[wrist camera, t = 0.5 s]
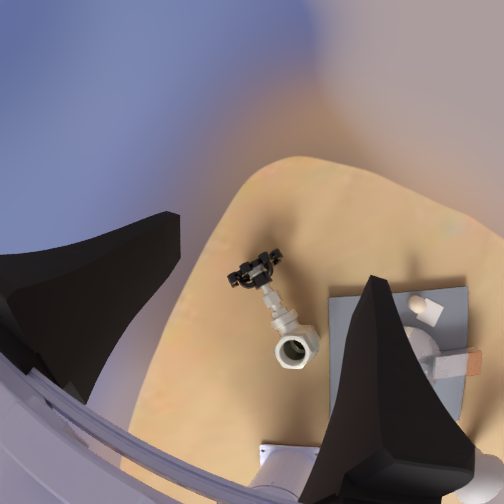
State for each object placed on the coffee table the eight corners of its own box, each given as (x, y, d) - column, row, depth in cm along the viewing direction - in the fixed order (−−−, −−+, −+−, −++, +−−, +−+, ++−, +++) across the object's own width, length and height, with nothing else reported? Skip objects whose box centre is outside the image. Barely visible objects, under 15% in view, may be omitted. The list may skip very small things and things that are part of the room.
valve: (338, 340, 34) (285, 250, 37) (333, 355, 28) (269, 245, 31) (289, 366, 36) (239, 279, 39) (274, 384, 30) (215, 281, 33)
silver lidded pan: (360, 405, 32) (359, 419, 28) (361, 328, 32) (361, 335, 29) (471, 393, 27) (480, 405, 24) (476, 317, 28) (488, 322, 24)
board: (457, 416, 29) (465, 431, 25) (330, 426, 34) (326, 442, 30) (465, 286, 30) (476, 287, 26) (329, 297, 35) (325, 300, 31)
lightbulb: (492, 427, 27) (522, 470, 16) (474, 466, 27) (495, 513, 16) (453, 426, 29) (476, 473, 18) (436, 465, 29) (449, 517, 18)
